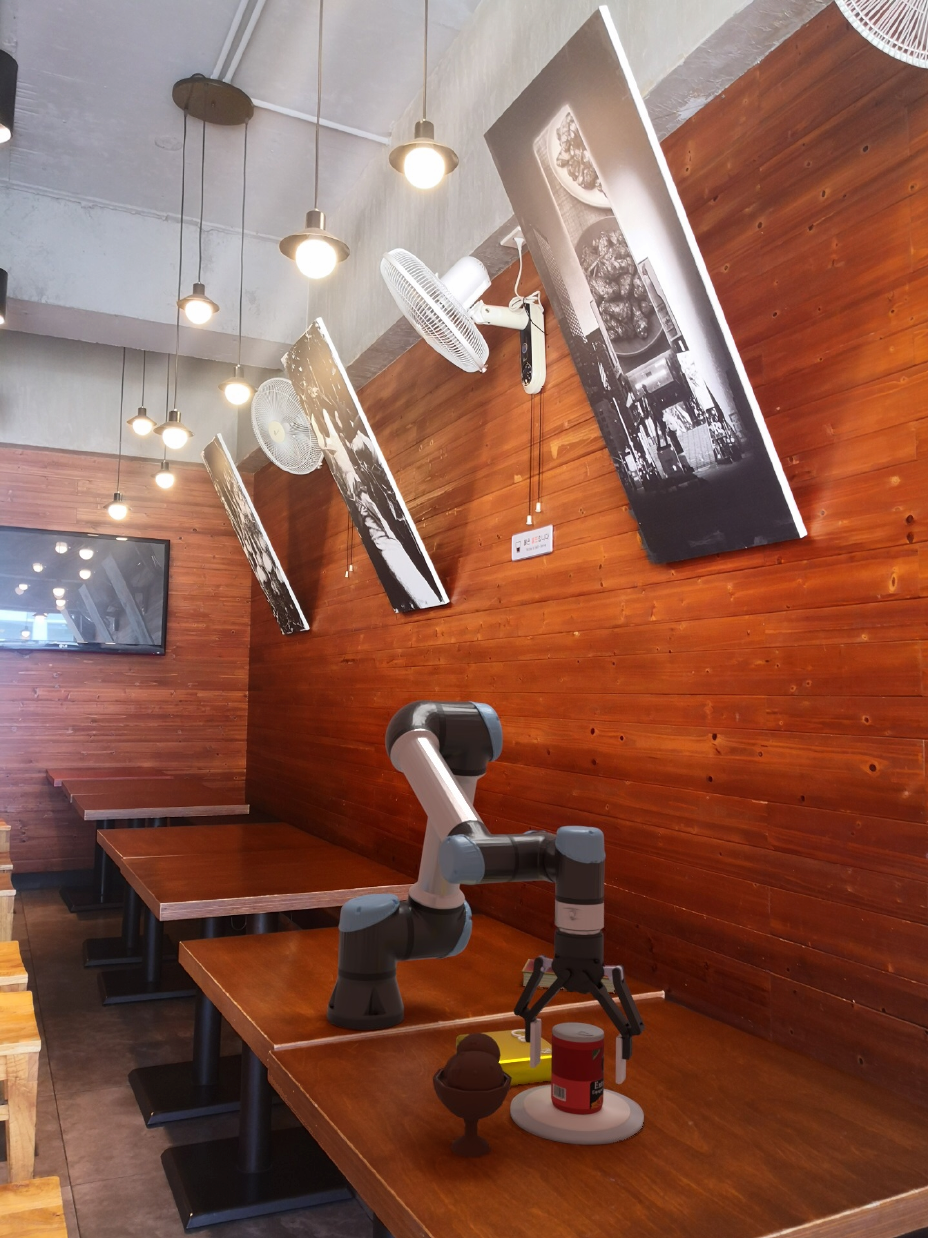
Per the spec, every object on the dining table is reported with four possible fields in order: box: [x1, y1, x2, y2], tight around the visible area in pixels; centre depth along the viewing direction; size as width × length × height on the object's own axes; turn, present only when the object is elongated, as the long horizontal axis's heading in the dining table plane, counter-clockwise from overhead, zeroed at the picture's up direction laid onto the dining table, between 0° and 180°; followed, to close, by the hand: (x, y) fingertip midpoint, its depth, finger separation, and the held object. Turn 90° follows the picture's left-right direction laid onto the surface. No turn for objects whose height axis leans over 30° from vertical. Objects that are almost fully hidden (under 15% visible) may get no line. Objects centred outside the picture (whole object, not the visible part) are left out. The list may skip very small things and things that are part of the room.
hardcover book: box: [521, 958, 617, 994], centre depth 219 cm, size 12×21×4 cm, turn 79°
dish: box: [510, 1084, 645, 1146], centre depth 145 cm, size 20×20×2 cm
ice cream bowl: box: [432, 1032, 512, 1158], centre depth 134 cm, size 11×11×15 cm
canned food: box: [550, 1022, 605, 1115], centre depth 146 cm, size 8×8×11 cm
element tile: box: [455, 1028, 552, 1087], centre depth 165 cm, size 15×15×5 cm
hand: (577, 1073), depth 146 cm, fingers open, 13 cm apart
